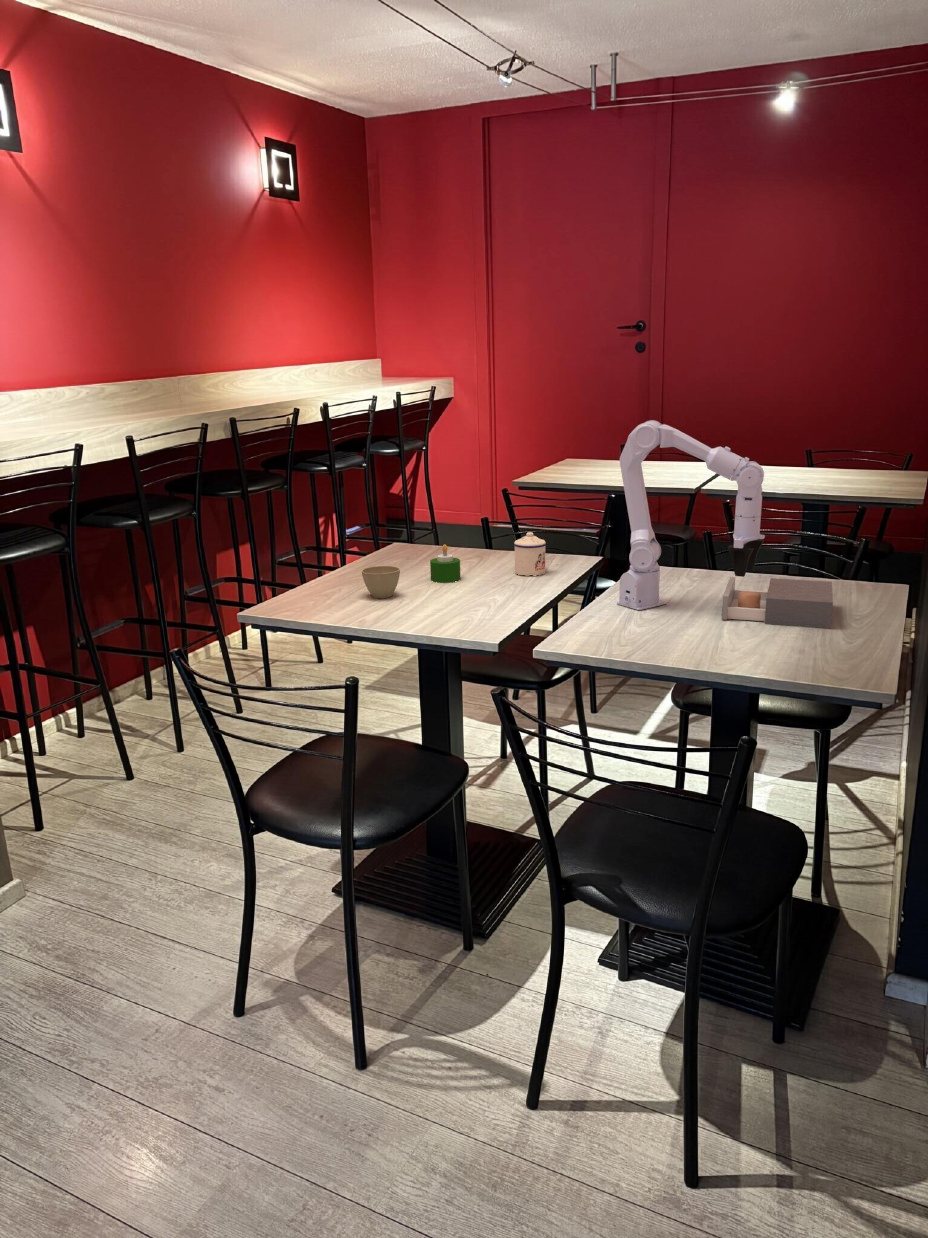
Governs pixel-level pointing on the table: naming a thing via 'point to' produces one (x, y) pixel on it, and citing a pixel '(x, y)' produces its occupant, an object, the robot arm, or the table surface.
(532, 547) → the teacup with lid
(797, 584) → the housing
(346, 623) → the table surface
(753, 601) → the orange rounded part
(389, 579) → the bowl
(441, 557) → the candle
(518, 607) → the table surface
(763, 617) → the tray
